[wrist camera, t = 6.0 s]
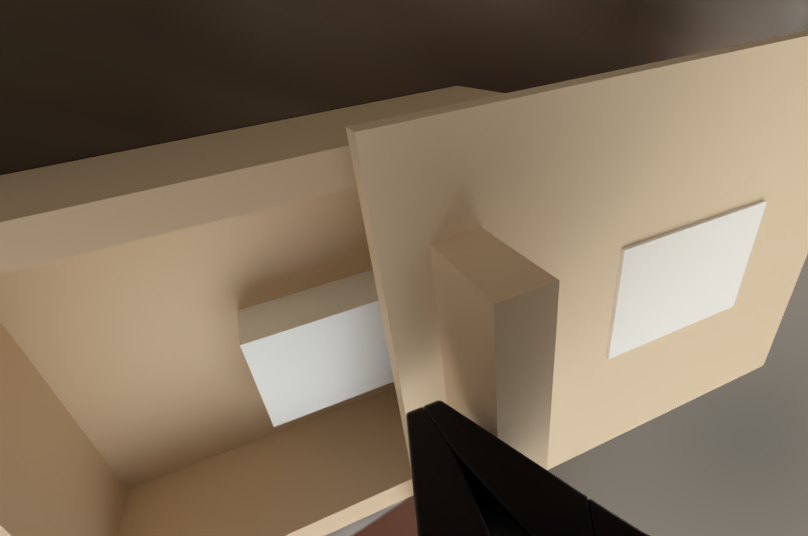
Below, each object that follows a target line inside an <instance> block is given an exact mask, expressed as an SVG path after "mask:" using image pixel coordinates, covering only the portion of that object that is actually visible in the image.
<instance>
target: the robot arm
mask: <svg viewBox="0 0 808 536" xmlns="http://www.w3.org/2000/svg"><path fill="white" fill-rule="evenodd" d="M406 421H407V431H408V442H409V452H410V463H411V473H412V483H413V494H414V504H415V514H416V525H417V536H649V535H648V534H646V533H644V532H642V531H641V530H639V529H637V528H636V527H634V526H633V525H631V524H629V523H628V522H626V521H625V520H623V519H621V518H620V517H618V516H616V515H615V514H613V513H612V512H610V511H609V510H607V509H605V508H604V507H603V506H601V505H600V504H598V503H596V502H595V501H594V500H592V499H589V500H588V499H587V496H585V495H584V494H583V493H581V492H580V491H578V490H577V489H575V488H574V487H572V486H570V485H569V484H567V483H566V482H564V481H563V480H561V479H560V478H558V477H557V476H555V475H554V474H552V473H551V472H549V471H548V470H546V469H545V468H543V467H542V466H540V465H539V464H537V463H535V462H534V461H532V460H531V459H529V458H528V457H526V456H525V455H523V454H522V453H520V452H519V451H517V450H516V449H514V448H513V447H511V446H510V445H508V444H507V443H505V442H504V441H502V440H501V439H499V438H497V437H496V436H494V435H493V434H491V433H490V432H488V431H487V430H485V429H484V428H482V427H481V426H479V425H478V424H476V423H475V422H473V421H472V420H470V419H469V418H467V417H466V416H464V415H462V414H461V413H459V412H458V411H456V410H455V409H453V408H452V407H450V406H449V405H447V404H446V403H444V402H443V401H440V400H438V401H435V402H432V403H430V404H427V405H425V406H424V407H420V408H417V409H415V410H412V411H410V412H408V413H407V414H406Z"/></svg>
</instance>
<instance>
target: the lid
mask: <svg viewBox="0 0 808 536" xmlns="http://www.w3.org/2000/svg"><path fill="white" fill-rule="evenodd" d="M346 132H347V137H348V142H349V147H350V153H351V158H352V163H353V168H354V174H355V179H356V184H357V189H358V195H359V200H360V205H361V210H362V216H363V221H364V226H365V231H366V237H367V242H368V247H369V252H370V258H371V263H372V268H373V273H374V279H375V284H376V289H377V294H378V300H379V305H380V310H381V315H382V321H383V326H384V331H385V336H386V342H387V347H388V352H389V357H390V363H391V368H392V373H393V378H394V384H395V389H396V394H397V399H398V405H399V410H400V415H401V420H402V426H403V431H404V436H405V441H406V446H407V452H408V457H409V462H410V452H409V442H408V431H407V421H406V414H407V413H408V412H410V411H412V410H415V409H417V408H420V407H424V406H425V405H427V404H430V403H432V402H435V401H438V400H440V401H443V402H444V403H446V404H447V405H449V406H450V407H452V408H453V409H455V410H456V411H458V412H459V413H461V414H462V415H464V416H466V417H467V418H469V419H470V420H472V421H473V422H475V423H476V424H478V425H479V426H481V427H482V428H484V429H485V430H487V431H488V432H490V433H491V434H493V435H494V436H496V437H497V438H499V439H501V440H502V441H504V442H505V443H507V444H508V445H510V446H511V447H513V448H514V449H516V450H517V451H519V452H520V453H522V454H523V455H525V456H526V457H528V458H529V459H531V460H532V461H534V462H535V463H537V464H539V465H540V466H542V467H543V468H545V469H546V470H548V469H551V468H553V467H554V466H557V465H558V464H561V463H563V462H565V461H567V460H569V459H571V458H573V457H575V456H577V455H579V454H581V453H583V452H586V451H587V450H590V449H592V448H594V447H596V446H598V445H600V444H602V443H604V442H606V441H608V440H610V439H612V438H614V437H616V436H619V435H620V434H623V433H625V432H627V431H629V430H631V429H633V428H635V427H637V426H639V425H641V424H643V423H645V422H648V421H649V420H652V419H654V418H656V417H658V416H660V415H662V414H664V413H666V412H668V411H670V410H672V409H674V408H676V407H678V406H681V405H682V404H684V403H687V402H689V401H691V400H693V399H695V398H697V397H699V396H701V395H703V394H705V393H707V392H709V391H711V390H713V389H715V388H718V387H720V386H722V385H724V384H726V383H728V382H730V381H732V380H734V379H736V378H738V377H740V376H742V375H744V374H747V373H749V372H751V371H752V370H755V369H757V368H759V367H761V366H763V365H764V362H765V360H766V357H767V355H768V352H769V350H770V347H771V345H772V342H773V340H774V337H775V335H776V332H777V329H778V327H779V324H780V322H781V319H782V317H783V314H784V312H785V309H786V307H787V304H788V302H789V299H790V297H791V294H792V292H793V289H794V286H795V284H796V282H797V279H798V276H799V274H800V271H801V269H802V266H803V264H804V261H805V259H806V256H807V254H808V31H803V32H798V33H793V34H788V35H784V36H779V37H774V38H769V39H764V40H760V41H755V42H750V43H745V44H740V45H736V46H731V47H726V48H721V49H716V50H712V51H707V52H702V53H697V54H692V55H687V56H683V57H678V58H673V59H668V60H663V61H659V62H654V63H649V64H644V65H639V66H635V67H630V68H625V69H620V70H615V71H611V72H606V73H601V74H596V75H591V76H587V77H582V78H577V79H572V80H567V81H563V82H558V83H553V84H548V85H543V86H539V87H534V88H529V89H524V90H519V91H515V92H510V93H505V94H500V95H495V96H491V97H486V98H481V99H476V100H471V101H467V102H462V103H457V104H452V105H447V106H443V107H438V108H433V109H428V110H423V111H419V112H414V113H409V114H404V115H399V116H395V117H390V118H385V119H380V120H375V121H371V122H366V123H361V124H356V125H351V126H347V127H346ZM410 467H411V463H410Z"/></svg>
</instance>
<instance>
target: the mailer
mask: <svg viewBox="0 0 808 536" xmlns="http://www.w3.org/2000/svg"><path fill="white" fill-rule="evenodd" d="M500 94H505V93H500V92H494V91H488V90H481V89H475V88H468V87H462V86H453V87H448V88H443V89H438V90H433V91H428V92H423V93H417V94H412V95H407V96H402V97H397V98H392V99H387V100H382V101H377V102H372V103H367V104H361V105H356V106H351V107H346V108H341V109H336V110H331V111H326V112H321V113H316V114H310V115H305V116H300V117H295V118H290V119H285V120H280V121H275V122H270V123H265V124H260V125H254V126H249V127H244V128H239V129H234V130H229V131H224V132H219V133H214V134H209V135H203V136H198V137H193V138H188V139H183V140H178V141H173V142H168V143H163V144H158V145H153V146H147V147H142V148H137V149H132V150H127V151H122V152H117V153H112V154H107V155H102V156H96V157H91V158H86V159H81V160H76V161H71V162H66V163H61V164H56V165H51V166H46V167H40V168H35V169H30V170H25V171H20V172H15V173H10V174H5V175H0V536H325V535H327V534H329V533H332V532H334V531H336V530H338V529H340V528H343V527H345V526H347V525H349V524H351V523H353V522H356V521H358V520H360V519H362V518H364V517H367V516H369V515H371V514H373V513H375V512H377V511H380V510H382V509H384V508H386V507H388V506H391V505H393V504H395V503H397V502H399V501H401V500H404V499H406V498H408V497H410V496H412V495H414V494H413V483H412V473H411V467H410V462H409V457H408V452H407V446H406V441H405V436H404V431H403V426H402V420H401V415H400V410H399V405H398V399H397V394H396V389H395V384H394V378H393V373H392V368H391V363H390V357H389V352H388V347H387V342H386V336H385V331H384V326H383V321H382V315H381V310H380V305H379V300H378V294H377V289H376V284H375V279H374V273H373V268H372V263H371V258H370V252H369V247H368V242H367V237H366V231H365V226H364V221H363V216H362V210H361V205H360V200H359V195H358V189H357V184H356V179H355V174H354V168H353V163H352V158H351V153H350V147H349V142H348V137H347V132H346V127H347V126H351V125H356V124H361V123H366V122H371V121H375V120H380V119H385V118H390V117H395V116H399V115H404V114H409V113H414V112H419V111H423V110H428V109H433V108H438V107H443V106H447V105H452V104H457V103H462V102H467V101H471V100H476V99H481V98H486V97H491V96H495V95H500Z"/></svg>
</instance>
